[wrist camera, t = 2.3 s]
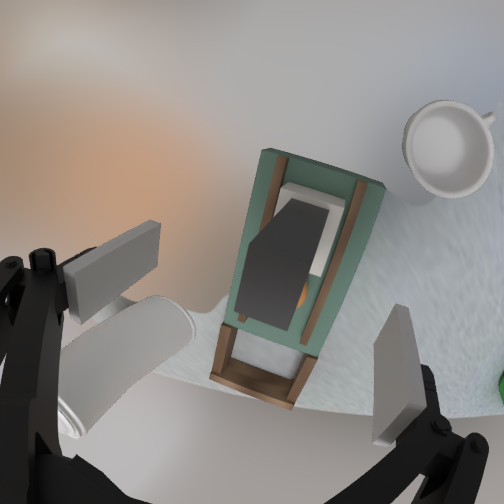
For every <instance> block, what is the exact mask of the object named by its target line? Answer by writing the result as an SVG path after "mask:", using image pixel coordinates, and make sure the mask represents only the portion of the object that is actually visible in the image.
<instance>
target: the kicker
mask: <svg viewBox="0 0 504 504" xmlns="http://www.w3.org/2000/svg"><path fill="white" fill-rule="evenodd" d="M344 207H345V199H342V198H339V197H336V196H333V195H330V194H326V193H323V192H320V191H317V190H314V189H311V188H308V187H304V186H301V185H298V184H295V183H291V182H288V183H286V184H285V185H284V186H283V187H281V189H280V193H279V197H278V201H277V205H276V209H275V213H274V216H273V218H272V220H271V221H270V222H269V223H268V224H267V225H266V226H265V227H264V228H263V229H262V230H261V231H260V232H259V233H258V235H257V236H256V237H255V238H254V239H253V240H252V241H251V242H250V243H249V246H248V250H247V255H246V259H245V263H244V268H243V272H242V276H241V281H240V285H239V289H238V294H237V298H236V302H235V307H234V312H236V313H239V314H241V315H244V316H247V317H249V318H252V319H255V320H257V321H260V322H263V323H265V324H268V325H271V326H273V327H276V328H279V329H282V330H285V331H288V329H289V326H290V323H291V321H292V318H293V316H294V313H295V310H296V307H297V305H298V302H299V299H300V297H301V294H302V291H303V288H304V286H305V283H306V280H307V277H308V274H309V273H310V274H313V275H316V276H319V277H321V275H322V272H323V269H324V266H325V264H326V261H327V258H328V255H329V252H330V249H331V247H332V244H333V241H334V238H335V235H336V232H337V229H338V226H339V223H340V220H341V217H342V214H343V211H344Z"/></svg>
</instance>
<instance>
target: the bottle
mask: <svg viewBox="0 0 504 504" xmlns="http://www.w3.org/2000/svg"><path fill="white" fill-rule="evenodd" d="M499 392H500V395H501V398H502V401H503V404H504V377H503V379H502V381H501V382H500V387H499Z"/></svg>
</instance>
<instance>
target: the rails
mask: <svg viewBox="0 0 504 504" xmlns="http://www.w3.org/2000/svg"><path fill="white" fill-rule="evenodd" d="M288 161H289V157H286V156H283V155H279V156H277V159H276V163H275V167H274V171H273V175H272V179H271V183H270V188H269V192H268V196H267V200H266V204H265V208H264V212H263V217H262V221H261V225H260V229H259V232H260V231H261V230H262V229H263V228H264V227H265V226H266V225H267V224H268V223H269V222H270V221H271V220H272V218H273V216H274V213H275V209H276V205H277V201H278V197H279V193H280V189H281V187H282V185H283V181H284V177H285V173H286V169H287V165H288ZM367 185H368V183H367V182H366V181H363V180H360V179H358V181H357V184H356V187H355V190H354V194H353V197H352V200H351V203H350V206H349V209H348V212H347V215H346V218H345V221H344V224H343V227H342V230H341V233H340V236H339V239H338V242H337V245H336V247H335V250H334V253H333V256H332V259H331V261H330V264H329V267H328V270H327V272H326V275H325V278H324V280H323V283H322V286H321V288H320V291H319V294H318V296H317V299H316V301H315V304H314V306H313V309H312V311H311V314H310V316H309V319H308V321H307V324H306V326H305V329H304V331H303V334H302V336H301V339H300V342H299V344H302V345H305V346H307V344H308V341H309V339H310V337H311V334H312V332H313V330H314V327H315V325H316V323H317V320H318V318H319V316H320V313H321V311H322V309H323V306H324V304H325V301H326V299H327V296H328V294H329V291H330V289H331V286H332V284H333V281H334V279H335V276H336V273H337V271H338V268H339V266H340V263H341V260H342V258H343V255H344V252H345V250H346V247H347V244H348V241H349V238H350V236H351V233H352V230H353V227H354V224H355V221H356V218H357V216H358V213H359V210H360V207H361V204H362V201H363V197H364V194H365V191H366V188H367ZM247 318H248V317H247V316H244V315H241V314H239V315H238V319H237V321H240V322H242V323H245V321H246V320H247Z"/></svg>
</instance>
